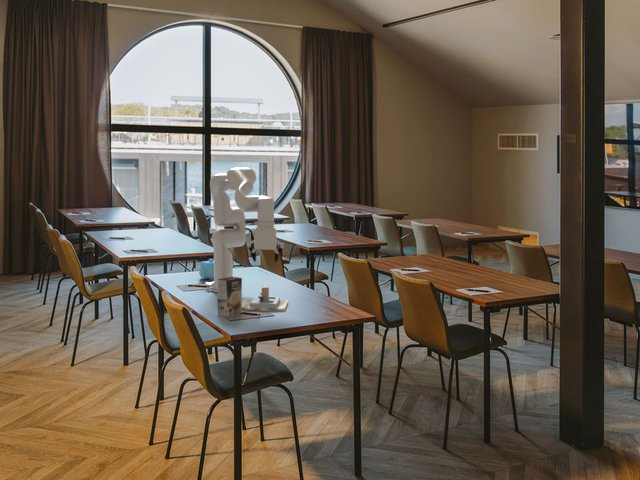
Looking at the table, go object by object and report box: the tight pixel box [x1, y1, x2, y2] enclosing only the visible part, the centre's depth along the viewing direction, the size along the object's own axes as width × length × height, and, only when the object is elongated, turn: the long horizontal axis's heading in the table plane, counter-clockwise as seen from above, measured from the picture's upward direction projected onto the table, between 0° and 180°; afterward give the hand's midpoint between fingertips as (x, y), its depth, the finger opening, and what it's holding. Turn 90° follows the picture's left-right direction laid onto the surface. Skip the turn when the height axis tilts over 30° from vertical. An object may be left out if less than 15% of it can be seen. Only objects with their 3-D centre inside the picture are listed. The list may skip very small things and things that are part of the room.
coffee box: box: [217, 276, 243, 318], centre depth 308 cm, size 9×6×16 cm
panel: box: [250, 285, 281, 308], centre depth 325 cm, size 12×16×8 cm
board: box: [242, 292, 289, 312], centre depth 325 cm, size 22×18×6 cm
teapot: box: [198, 258, 214, 281], centre depth 394 cm, size 15×14×11 cm
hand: (265, 261), depth 323 cm, fingers open, 9 cm apart
